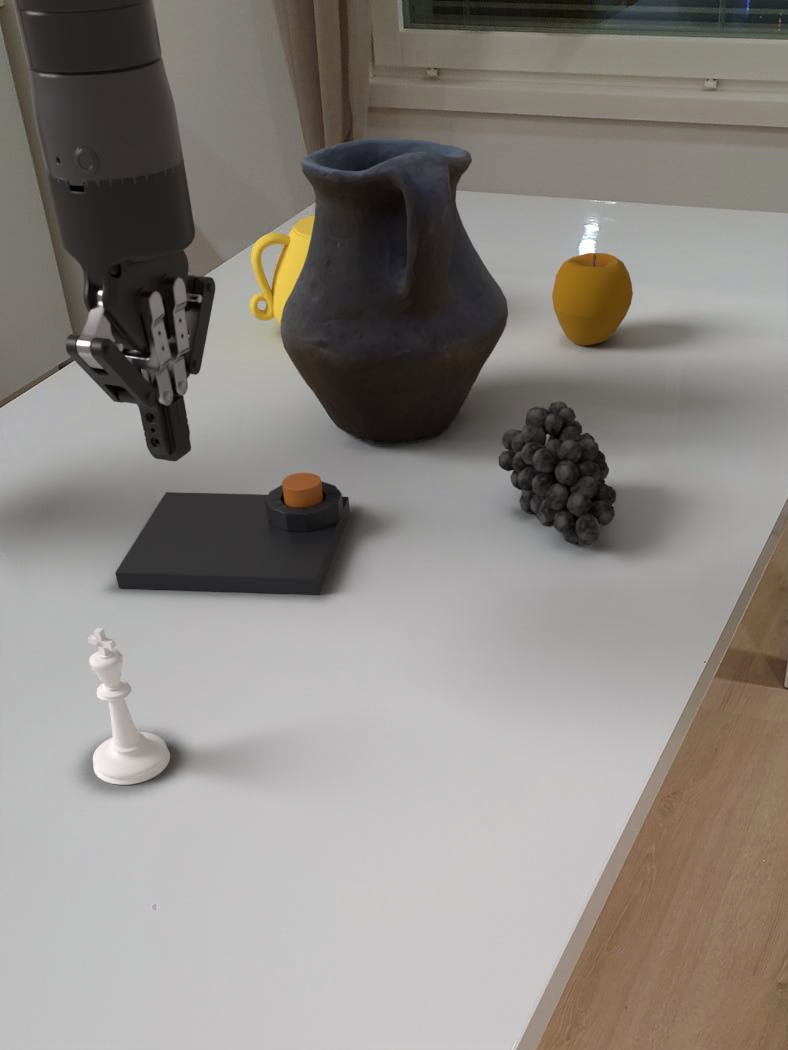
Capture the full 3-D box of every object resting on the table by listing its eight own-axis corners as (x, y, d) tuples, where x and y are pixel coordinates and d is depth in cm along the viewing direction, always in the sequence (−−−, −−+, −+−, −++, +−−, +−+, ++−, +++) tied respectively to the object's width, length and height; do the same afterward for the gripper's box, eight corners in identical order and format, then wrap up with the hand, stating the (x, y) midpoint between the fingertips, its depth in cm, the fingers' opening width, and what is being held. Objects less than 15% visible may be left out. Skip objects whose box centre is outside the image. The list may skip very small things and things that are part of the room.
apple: (617, 359, 135) (622, 271, 129) (540, 351, 137) (541, 264, 131) (638, 332, 141) (643, 246, 135) (564, 324, 143) (566, 239, 137)
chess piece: (140, 792, 82) (106, 659, 75) (78, 774, 83) (39, 641, 77) (185, 749, 85) (156, 618, 78) (124, 732, 87) (91, 602, 80)
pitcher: (454, 368, 134) (444, 96, 117) (551, 446, 119) (556, 147, 103) (266, 406, 128) (228, 123, 111) (344, 493, 113) (313, 182, 96)
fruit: (622, 452, 96) (568, 374, 107) (520, 497, 97) (477, 415, 108) (649, 545, 102) (595, 462, 113) (553, 587, 103) (509, 501, 114)
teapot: (435, 343, 140) (430, 216, 131) (262, 362, 136) (245, 234, 128) (399, 285, 154) (392, 168, 146) (242, 302, 151) (225, 183, 143)
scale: (118, 588, 101) (110, 553, 99) (168, 506, 112) (162, 474, 110) (318, 594, 100) (314, 560, 98) (350, 511, 110) (347, 478, 108)
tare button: (280, 509, 105) (278, 489, 104) (289, 491, 107) (286, 471, 106) (319, 510, 105) (317, 490, 104) (326, 492, 107) (324, 472, 106)
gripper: (124, 124, 77) (176, 409, 88) (-19, 182, 67) (61, 491, 79) (233, 132, 74) (273, 423, 86) (101, 193, 65) (165, 509, 77)
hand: (171, 455), depth 82 cm, fingers closed
